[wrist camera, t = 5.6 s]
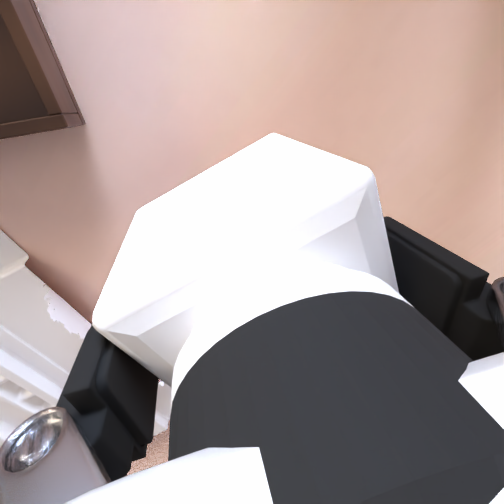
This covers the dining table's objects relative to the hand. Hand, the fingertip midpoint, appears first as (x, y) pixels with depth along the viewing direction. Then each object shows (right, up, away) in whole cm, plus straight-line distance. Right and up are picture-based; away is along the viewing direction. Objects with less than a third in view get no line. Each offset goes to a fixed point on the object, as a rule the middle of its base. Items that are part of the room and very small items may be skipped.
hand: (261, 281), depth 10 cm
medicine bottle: (-1, +2, +4) cm, 4 cm away
